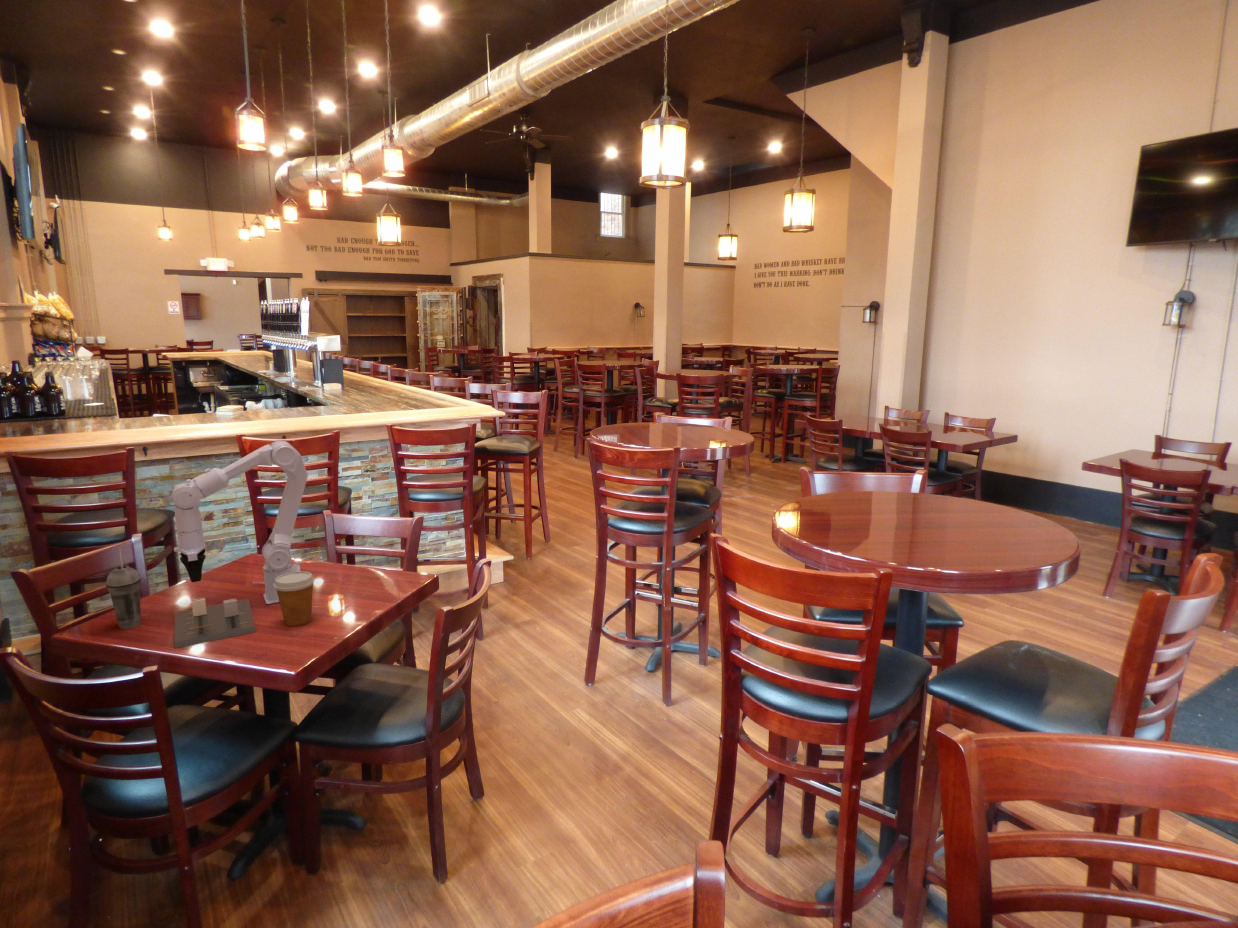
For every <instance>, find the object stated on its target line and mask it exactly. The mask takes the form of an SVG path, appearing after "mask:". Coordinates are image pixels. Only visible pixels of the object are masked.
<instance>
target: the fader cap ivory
mask: <svg viewBox="0 0 1238 928" xmlns="http://www.w3.org/2000/svg"><path fill="white" fill-rule="evenodd" d="M190 601H191V609H192V610H193V617H194V616H200V615H205V614H207V611H206V606H207V604H206V597H201V598H196V599H195V598H194V599H191V600H190Z"/></svg>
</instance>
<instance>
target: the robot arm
mask: <svg viewBox="0 0 1238 928" xmlns="http://www.w3.org/2000/svg"><path fill="white" fill-rule="evenodd" d="M272 462H273V463H274V464H275V466H277V467H278V468H280V469H281V470H282V471H283V472H284V474H285V475H286V477H287V478H286V482H285V486H284V489H283V493H282V498H281V500H280V504H279V507H278V510H277V511H278V512H277V514H276V519H275V522H274V526H273V530H272V532H271V533H270V534H269V537H268V540H267V541H266V543H265V544H264V545H263V547H262V549H261V556H262V557H263V558H264V561H265V563H264V565H263V566H262V570H263V580H264V590H265V593H263V599H264V601H265V604H266V605H271V604H275V603H280V602H279V598H278V594H277V590H276V589H275V587H274V583H275V579H276V578H277V577H278V576H280V575H283V574H286V573H290V572H298V571H301V566H300V564H299V563H296V564H295V563H294V564H293V563H292V562H291V561H292V556H291V552H290V551H291V548H292V547H291V546H292V534H293V531H294V528H295V525H296V524H295V523H296V521H297V520H296V519H297V517H298V513H299V509H300V506H301V502H302V498H303V495H304V492H305V488H306V485H307V480H308V478H309V474H308V471H307V469H306V468H307V467H306V466H305V463H304V461H303V458H302V455H301V454H300V452H299V451H298V450H297V449H296V448H295V447H293V445H291V443H289V442H288V441H286V440H283V439H277V440H274V441H273V442H272V443H270V444H269V443H268V444H266V445H262V446H261V447H259V448H258V449H256V450H253V451H252V452H250V453H249V454H247V455H245V456H243V457H241V458H239V459H237V460H236V461H235V462H233V463H231V464H229V465H227V466H225V467H224V468H218V467H213V468H211V469H210V467H208V468H206V469H204V472H203V473H201V474H200V475H198V476H196V477H194V478H192V479H190V478H188V479H186V483H179V484H177V485H176V486H175V487H174V488H173V489H172V492H171V499H172V502H173V504H174V508H173V510H174V512H175V513H174V519H175V529H176V533H177V534H176V535H177V541H178V546H175V547H173V553H174V552H178V553H180V562H181V564H182V565H183V566H184V567H185V569H186V572H187V574H188V577H189V580H190V582H191V583H197V582H201V580H202V575H203V571H202V570H203V566H204V562H205V560H206V557H207V556H206V546H207V545H206V543H205V537H204V531H203V522H202V516H201V515H202V514H201V511H200V507H199V503H200V500H202V499H203V500H205V499H207V498H208V497H210V496H211V495H214V494H215V493H217V492H219V491H221V490H223V489H225V488H227V487H228V486H229V482H230V480H232V479H234V478H235V477H237V476H239V475H242V474H244V473H246V472H248V471H251V470H252V469H254V468H257V467H259V466H264V467H265V466H266V467H272V466H273V464H272Z"/></svg>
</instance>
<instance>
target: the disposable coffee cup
mask: <svg viewBox="0 0 1238 928" xmlns="http://www.w3.org/2000/svg"><path fill="white" fill-rule="evenodd" d="M314 582H315V578H314V576H313V574H312V573H311V572H309V571H303V570H302V571H298V572H290V573H286V574H283V575H280V576H278V577H277V578H276V579H275V583H274V587H275V589H276V590H277V594H278V598H279V602H278V603H279V605H280V609H281V613H282V617H283V621H284V624H285V625H286V626H288V627H297V626H302V625H305V624H307V623H309V622H311V621H312V611H313V589H314V588H313V586H314Z"/></svg>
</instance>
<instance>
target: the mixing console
mask: <svg viewBox="0 0 1238 928" xmlns="http://www.w3.org/2000/svg"><path fill="white" fill-rule="evenodd" d="M237 606H238V614H239V615H236V616H231V617H226V618H225V611H224V603H217V604H212V605H206V611H207V614H205V615H200V616H194V617H193V610H192V608H190V609H182V610H178V611H175V612H174V613H175V615H174V649H179V648H182V647H183V646H184V647H188V646H193V645H198V644H203V643H206V642H213V641H217V640H223V639H227V638H232V637H237V636H242V635H247V634H253V633H256V626H255V622H254V617H253V613H252V612H253V611H252V608H251V605H250V601H249V598H243V599H239V600H237ZM178 647H179V648H178Z"/></svg>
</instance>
